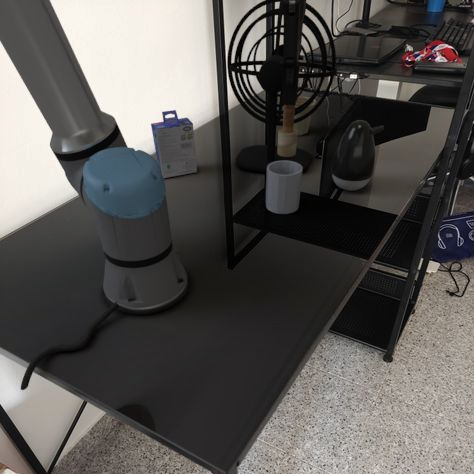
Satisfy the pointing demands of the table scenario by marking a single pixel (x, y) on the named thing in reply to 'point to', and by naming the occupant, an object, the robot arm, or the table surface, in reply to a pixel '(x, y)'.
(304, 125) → the flower pot
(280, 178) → the white plastic cup
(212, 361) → the table surface
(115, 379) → the table surface
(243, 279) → the table surface
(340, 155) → the pump dispenser
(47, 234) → the table surface
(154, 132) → the ink cartridge box
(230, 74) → the desk fan
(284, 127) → the brush
